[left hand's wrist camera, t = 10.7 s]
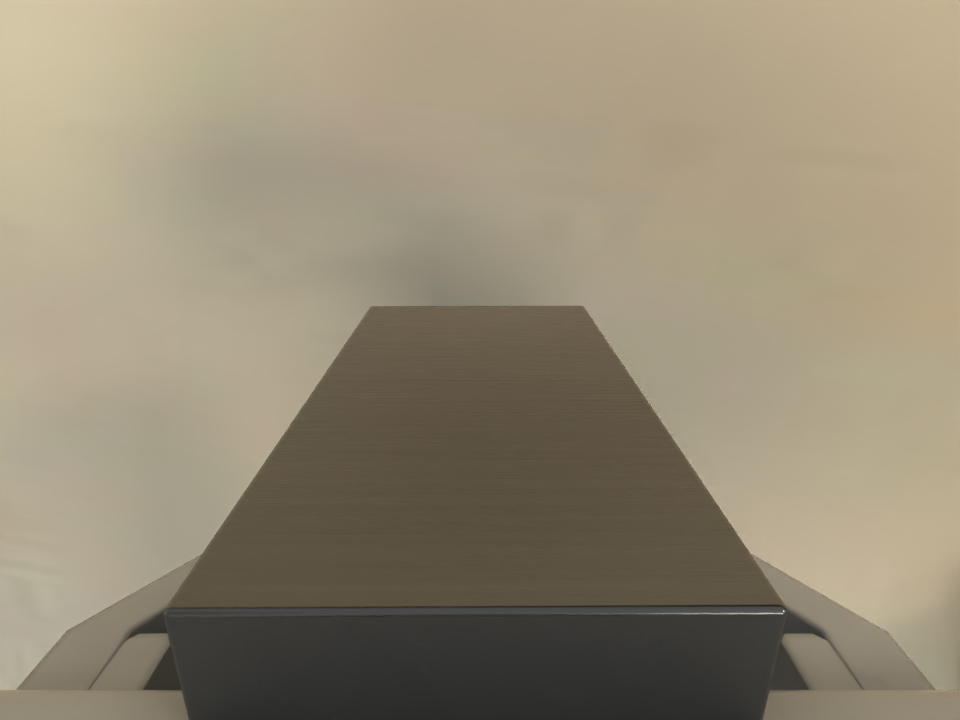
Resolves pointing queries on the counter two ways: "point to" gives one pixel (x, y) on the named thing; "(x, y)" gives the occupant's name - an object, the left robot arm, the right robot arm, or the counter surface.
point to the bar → (476, 544)
